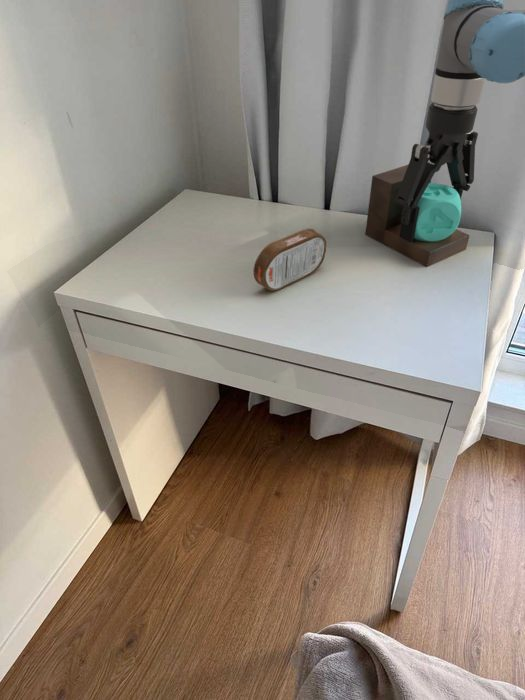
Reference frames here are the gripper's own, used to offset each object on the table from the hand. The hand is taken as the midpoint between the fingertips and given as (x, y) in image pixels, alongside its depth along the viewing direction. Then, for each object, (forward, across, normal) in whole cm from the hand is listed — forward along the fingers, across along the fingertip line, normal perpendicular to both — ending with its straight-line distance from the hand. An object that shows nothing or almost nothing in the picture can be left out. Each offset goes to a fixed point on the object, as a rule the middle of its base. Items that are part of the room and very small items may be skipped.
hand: (427, 230), depth 94 cm
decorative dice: (+1, 0, 0) cm, 1 cm away
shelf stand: (+3, 0, -2) cm, 4 cm away
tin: (+4, +28, -6) cm, 29 cm away
